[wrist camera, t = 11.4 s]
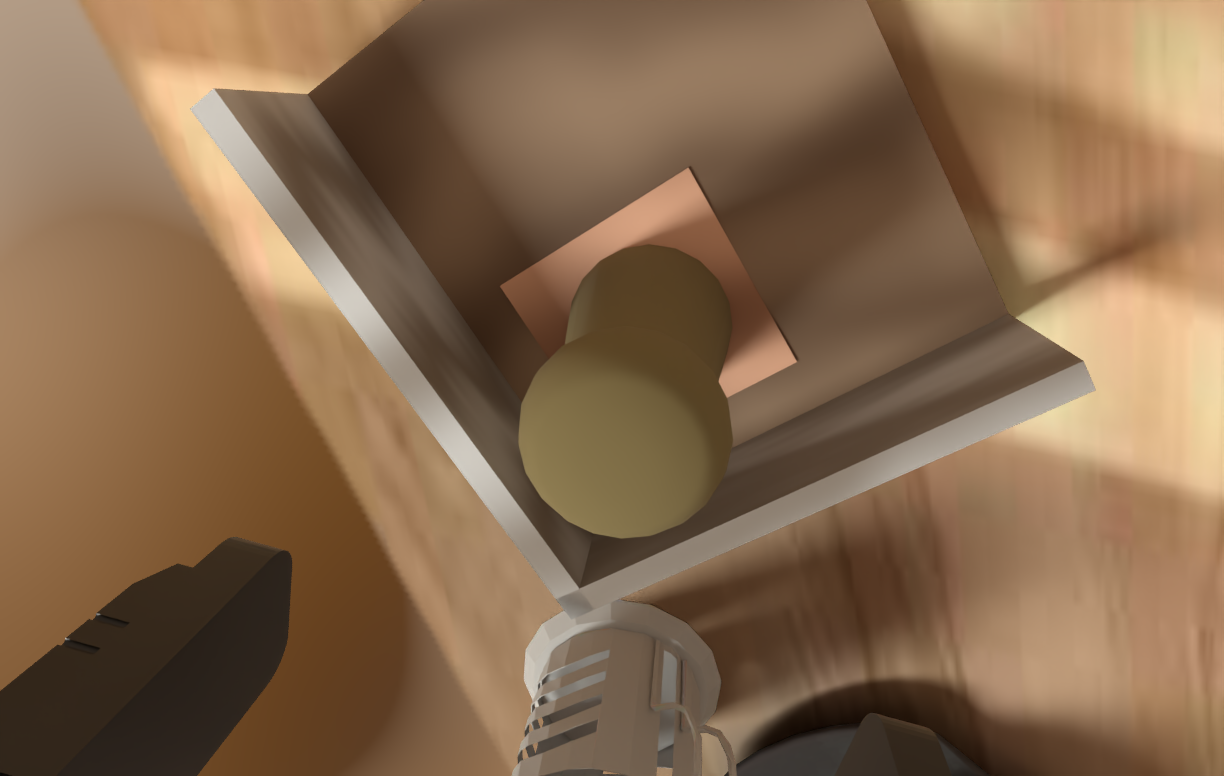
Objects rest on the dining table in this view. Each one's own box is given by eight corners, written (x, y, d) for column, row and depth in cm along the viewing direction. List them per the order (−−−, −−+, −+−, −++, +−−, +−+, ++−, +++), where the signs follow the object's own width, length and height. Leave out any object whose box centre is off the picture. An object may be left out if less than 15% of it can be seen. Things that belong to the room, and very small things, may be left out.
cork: (545, 274, 25) (441, 381, 15) (705, 221, 24) (710, 297, 14) (600, 419, 27) (541, 602, 17) (751, 377, 26) (787, 548, 15)
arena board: (1002, 325, 25) (1095, 390, 19) (596, 521, 31) (571, 619, 25) (743, -236, 20) (763, -385, 14) (309, 111, 26) (189, 108, 20)
